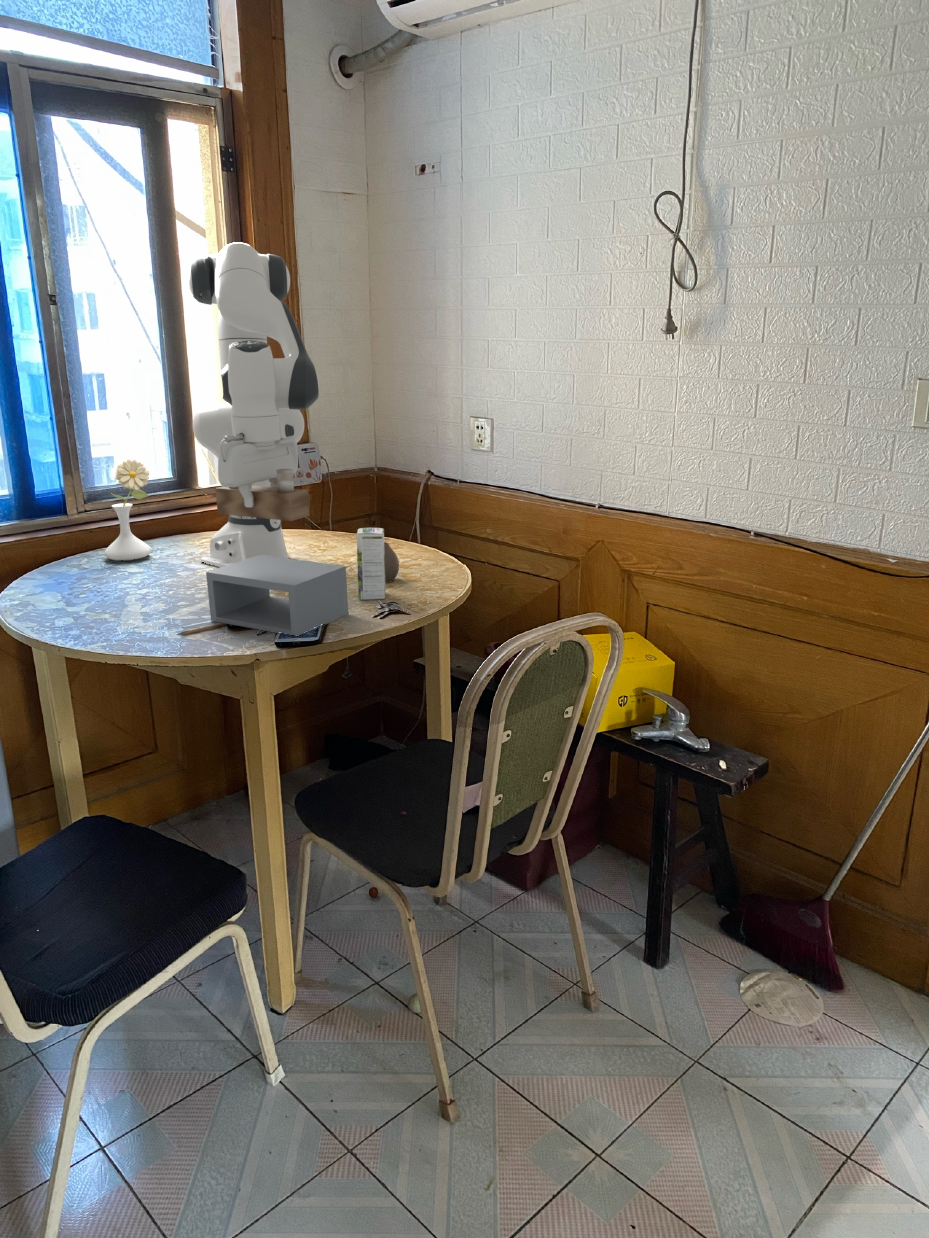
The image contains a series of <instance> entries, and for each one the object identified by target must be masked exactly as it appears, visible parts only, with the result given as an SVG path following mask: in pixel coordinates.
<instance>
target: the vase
mask: <svg viewBox="0 0 929 1238" xmlns="http://www.w3.org/2000/svg"><path fill="white" fill-rule="evenodd" d="M384 554H385V583H390V582H393V581H394V580H395V579H396V578H397V576H398V575H399V570H400V561H399V558H398V555H397V554H396V552H395V551H394V549H392V548H391V546H390V544H389V542H387V541H384Z"/></svg>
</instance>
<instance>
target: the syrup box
mask: <svg viewBox="0 0 929 1238" xmlns="http://www.w3.org/2000/svg"><path fill="white" fill-rule="evenodd" d="M384 542H385V529H384V528H381V527H361V528H358V529H357V532H356V555H357V556H356V559H357V560H356V561H357V562H356V563H357V583H358V584H357V586H358V592H357V593H358V600H361V601H363V600H364V601H366V600H368V601H370V600H383V599H386V582H385V554H384Z"/></svg>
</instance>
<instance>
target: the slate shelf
mask: <svg viewBox="0 0 929 1238" xmlns="http://www.w3.org/2000/svg"><path fill="white" fill-rule="evenodd" d="M205 574H206V576H205V577H206V585H207V593H208V604H209V614H210V621H212V622H217V623H222V624H227V625H233V626H238V627H244V628H250V629H254V630H261V631H266V632H269V633H270V632H271V633H276V634H280V633H279V632H282V633H287V634H291V635H297V636H298V635H301V634H303V633H304V632H306V631H309V630H310V629H313V628H314V627H317V626H319V625H321V624H325V625H327V624H330V623H332V622H333V621H337V620H339V619H341V618H343V617H345V616H347V615H349V602H348V601H349V600H348V587H347V586H348V584H347V583H348V582H347V566H346V565H338V564H331V563H324V562H316V561H310V560H302V559H296V558H290V557H289V558H282V557H274V556H267V555H258V556H255V557H252V558H249V559H246V560H243V561H239V562H236V563H233V564H230V565H227V566H224V567H218V568H215V569H212V570H208V571H206V572H205ZM270 590H271V591H279V592H284V593H288V598H287V599H286V598H280V597H273V596H271V595H270ZM291 635H290V636H291ZM303 635H304V634H303ZM297 636H296V637H297ZM301 636H302V635H301ZM298 637H299V636H298Z"/></svg>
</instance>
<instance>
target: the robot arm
mask: <svg viewBox="0 0 929 1238" xmlns="http://www.w3.org/2000/svg"><path fill="white" fill-rule="evenodd" d="M189 263H190V264H189V266H188V269H187V275H186V279H187V280H186V281H187V284H188V285H187V286H188V288H189V290H190V292H191V294H192V295H193V296H192V297H193V299H195V300H196V301H197V302H198V303H201V304H204V305H209V306H210V305H211V306H212V305H213V304H214V305H217V309H218V313H217V315H218V316H217V338H218V350H219V362H220V364H219V365H220V371H219V372H220V377H221V383H222V400H224V401H223V402H217V403H211V404H207V405H202V406H200V407H199V408H198V409H197V411H196V412H195V414H194V417H193V420H192V429H193V430H192V431H193V433H194V436H195V439H196V441H198V442H199V444H200V445H201V446H202V447H204V448H205V449H207V450H208V451H209V452H211V453H212V454H213V455H214V456H215V457H216V458H217V479H218V482H219V483H220V485H221V487H223V486H224V487H239V491H240V493H241V494H242V496H243V498H244V504H245V507H250V508H251V507H254V506H256V505H257V503H256V497H253V495H252V493H251V490H250V489H252V485H254V486H266V487H278V485H277V471H276V470H278V469H293V474H296V472H297V471H298V469H299V454H298V443H299V442H300V441H301V439H302V437H303V435H304V432H305V419H304V416H303V413H302V412H301V411H306V410H307V409H309V408H310V407H311V406H312V405H313V404H314V403H315V402H316V401H317V400H318V398H319V395H320V378H319V375H318V372H317V370H316V368H315V365H314V363H313V361H312V359H311V358H310V356H309V354H308V351H307V349H306V347H305V344H304V341H303V338H302V337H301V334H300V333H301V332H300V331H299V328H298V326H297V322H296V321H295V318H294V315H293V314H292V311H291V309H290V308H289V306H288V305H287V303H285V302H284V300H285V299H286V298H287V296H288V293H289V290H290V287H291V275H290V271H289V268H288V266H287V264H286V261H285V260H284V259H283V258H282V256H279V255H277V254H270V253H267V254H263V253H262V254H261V253H259V252H258V251H257V250H256V249H255V248H254V247H252V246H251V245H250V244H248V243H244V242H232V243H229V244H226V245H225V246H223V247H222V249H221V250H220V251H219V252H218V253H213V254H208V252H207V253H203V254H197V255H195V256H194V257H192V258H191V260H190V261H189ZM268 338H271V339H273V340H274V341H277V343H279V345H280V347H281V350H282V353H283V355H284V357H281V358H279V357H278V358H275V357H274V355H273V352H272V349H271V346H270V344H268ZM224 515H225V516H227V514H224ZM284 538H285V537H284V534H283V529H282V520H276V519H266V518H256V517H246V516H236V515H228V520H227V523H225V524H224V525H223V526H222V527H221V528H220V529H218V531H216V532H215V534H213V535H212V536H211V538H210V542H209V553H208V554H206V555H204V556H202V557H201V558H200V563H202V562H204V563H203V564H205V563H206V565H209V564H210V566H213V565H215V566H214V567H218V568H220V567H224V566H227V565H230V564H233V563H236V562H239V561H243V560H246V559H249V558H252V557H255V556H258V555H267V556H274V557H282V558H289V559H290V557H289V554H288V551H287V547H286V544H285V539H284Z"/></svg>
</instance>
